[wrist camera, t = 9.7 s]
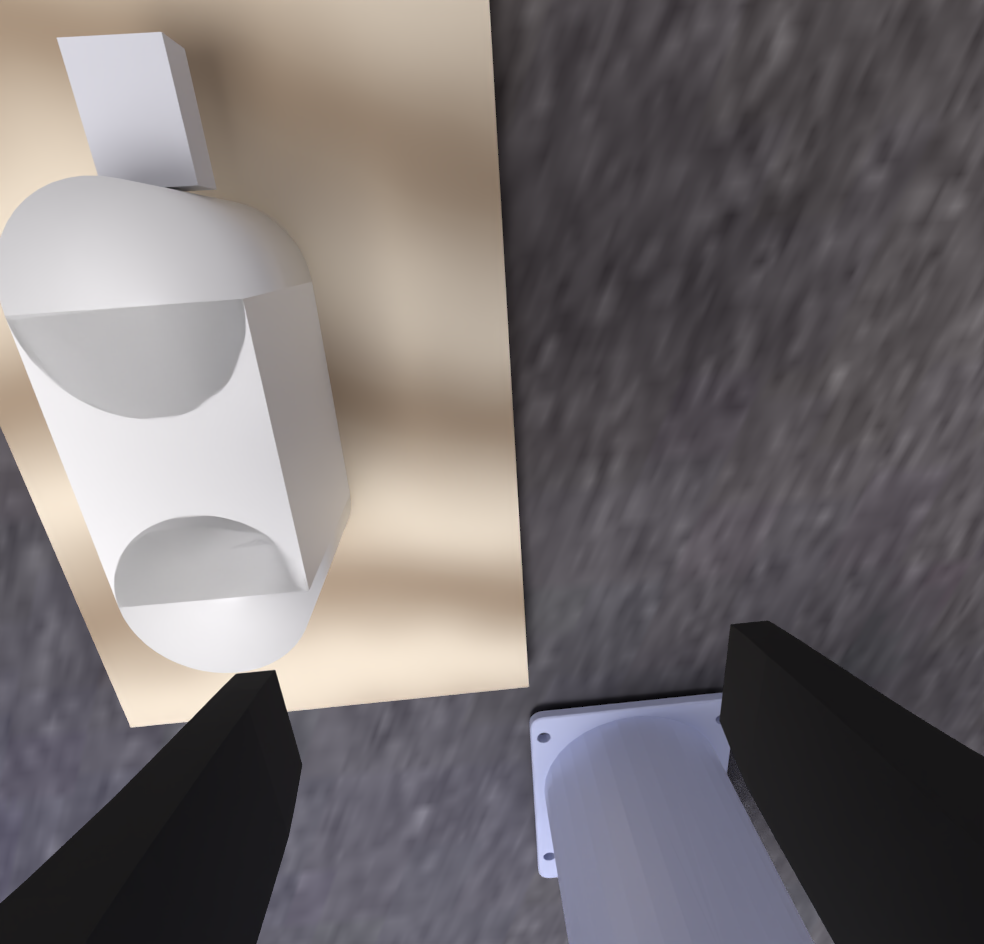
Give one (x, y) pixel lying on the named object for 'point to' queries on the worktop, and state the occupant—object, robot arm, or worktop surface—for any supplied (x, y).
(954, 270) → the worktop surface
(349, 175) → the pad
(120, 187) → the plug
